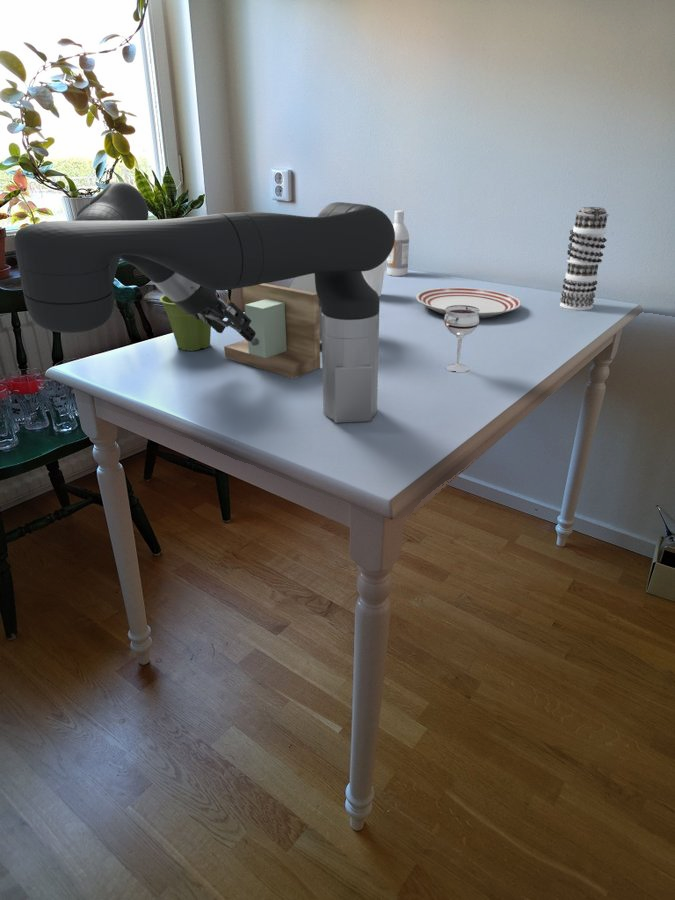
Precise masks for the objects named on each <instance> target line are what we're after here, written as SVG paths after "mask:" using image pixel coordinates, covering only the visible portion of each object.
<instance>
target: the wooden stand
mask: <svg viewBox="0 0 675 900" xmlns="http://www.w3.org/2000/svg"><path fill="white" fill-rule="evenodd" d="M242 297H243V311H244V312H243V313H244V314H245V315H246V311H245V305H246V304H249V303H253V302H257V301H261V300H265V299H270V300H275V301H279V302H284V303H285V324H286V344H287V351H285V352H282V353H279V354H276V355H274V356H271V357H268V358H263V357H260V356H257V355H253V354H250V353H249V348H248V341H247V340H246V339H245V338H244V339H243V340H239V341H236V342H234V343H233V342H232V343H230V344H228V345H227V344H226V345H224V346H223V349H224V358H225V359H228V360H232V361H234V362H237V363H240V364H245V365H247V366H251V367H255V368H259V369H261V370H265V371H268V372H271V373H274V374H278V375H281V376H284V377H288V378H291V379H295V378H298V377H300V376H303V375H305V374H307V373H311V372H312V371H315V370H317V369H320V368H321V351H320V336H319V298H318V295H317V293H313V292H308V291H302V290H297V289H292V288H290V287H286V286H281V285H280V286H279V285H276V284H272V283H271V284H269V283H264V284H259V285H255V286H249V287H242Z"/></svg>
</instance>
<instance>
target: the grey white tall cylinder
mask: <svg viewBox="0 0 675 900" xmlns="http://www.w3.org/2000/svg"><path fill="white" fill-rule="evenodd" d="M609 216H610V214H608V212H607V210H606V209H605V208H604V207H601V206H599V207H598V206H585V207H581V208H580V209H579V211H578V212H576V213H575V220H574V225H573V229H572V230H569V234H570V235H569V237H568V240H569V241H570V243H569V244H568V245H567V247H568V250H567V251H566V252H567V253H566V254H567V255H569V256H568V257H567V259H566V262H567V270H566V272H565V278H563V283H564V284H563V285H562V289H563V290H562V291H561V292H560V294H561V297H560V302H559V306H560V307H561V308H562V309H563V308H564V309H567V310H572V311H573V310H574V311H588V310H592V309H593V304H594V303H595V300H594V298H596V294H595V292H594V291H596V290H597V284H598V281H597V279H598V269H599V265H600V264H601V263H602V262H603V260H602V259H601V257H603V256H604V253H603V252H602V250H604V249H605V248H606V245H605V244H604V243H606V242H607V239H606V238H605V237H604V235H605V234H606V231H607V221H608V217H609Z"/></svg>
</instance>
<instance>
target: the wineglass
mask: <svg viewBox="0 0 675 900" xmlns="http://www.w3.org/2000/svg"><path fill="white" fill-rule="evenodd" d="M445 310H446V312H447V313H446V315H444V317H443V323H444V327H445V328H446V329H447V330H448V331H449V333H450V334H452V335H455V338H457V352H456V353H457V354H456V363H451V365H450V364H447V365H448V366H447V365H446V366H447V369H449V370H452V371H456V372H455V373H466V372H465V371H467V370H469V368H470V366H468V365H465V364H461V363H460V359H461V358H460V355H461V349H462V341H463V339H464V338H465V336H468V335H470V334H472V333H473V332H475V330H476V329H477V328H478V327H479V324H480V318H479V316H478V313H479V311H480V309H479V308H477V307H474V306H468V305H453V306H448V307H446V308H445ZM469 371H470V370H469ZM467 372H468V371H467Z"/></svg>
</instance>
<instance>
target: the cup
mask: <svg viewBox="0 0 675 900" xmlns="http://www.w3.org/2000/svg"><path fill="white" fill-rule="evenodd" d="M386 267H387V259H386V260H385V261H384V262H383V263H382V264H381V265H379V266H378V267H376V268H374V269H372V270H369V271H361V272H362V275H363V277H364V279H365V281H366V282H367V283H368V285H369V286H370V287H371V288H372V289H373V290H375V291H376V292H377V294H378V296H379V298H380V297H381V296H382V290H383V285H384V278H385V272H386V271H385V270H386Z"/></svg>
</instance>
